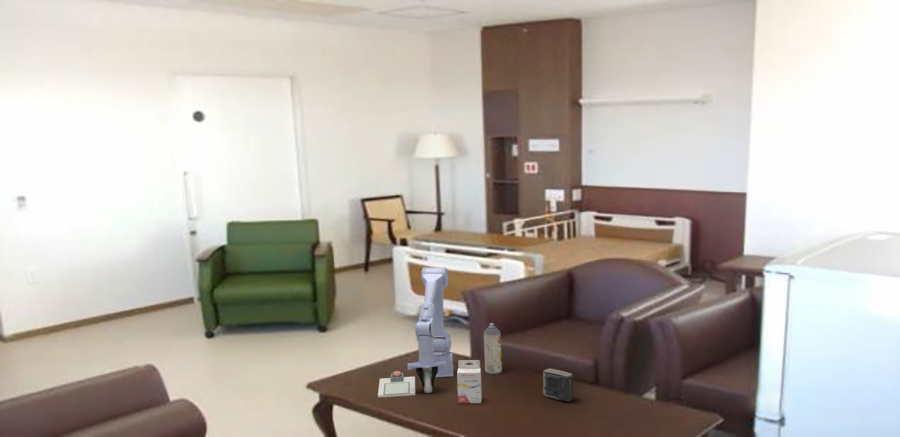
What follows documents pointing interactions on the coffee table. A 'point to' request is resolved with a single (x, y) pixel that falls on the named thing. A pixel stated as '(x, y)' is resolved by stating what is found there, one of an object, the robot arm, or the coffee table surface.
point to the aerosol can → (492, 350)
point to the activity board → (396, 386)
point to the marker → (427, 381)
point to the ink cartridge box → (469, 382)
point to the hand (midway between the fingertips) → (428, 386)
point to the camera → (558, 384)
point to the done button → (396, 374)
